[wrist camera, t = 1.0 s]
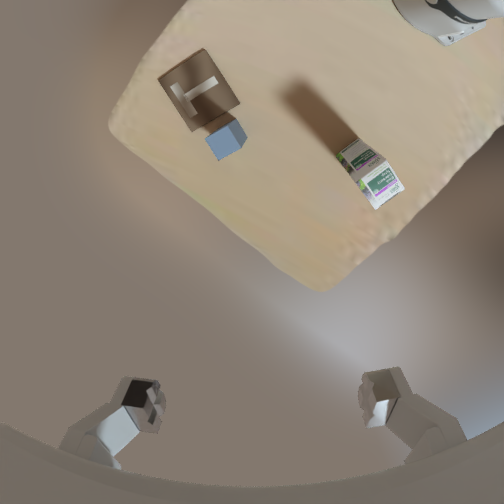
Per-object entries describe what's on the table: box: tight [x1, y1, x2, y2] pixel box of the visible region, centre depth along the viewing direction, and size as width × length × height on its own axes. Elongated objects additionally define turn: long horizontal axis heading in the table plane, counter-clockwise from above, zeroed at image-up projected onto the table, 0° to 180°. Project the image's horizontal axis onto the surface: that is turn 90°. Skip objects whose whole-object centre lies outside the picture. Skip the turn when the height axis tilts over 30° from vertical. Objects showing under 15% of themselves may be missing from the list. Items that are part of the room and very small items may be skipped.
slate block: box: [205, 119, 247, 161], centre depth 44 cm, size 4×4×9 cm
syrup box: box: [336, 138, 405, 210], centre depth 42 cm, size 6×6×14 cm
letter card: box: [159, 50, 240, 132], centre depth 43 cm, size 10×12×1 cm
